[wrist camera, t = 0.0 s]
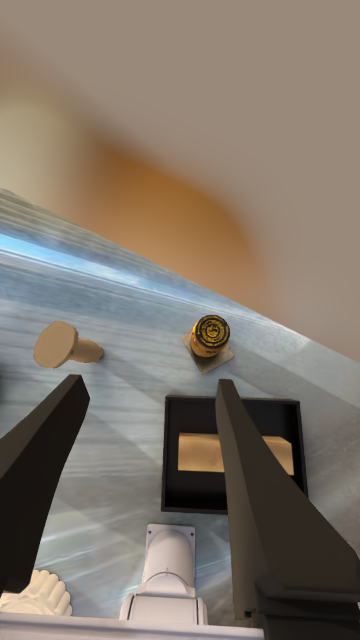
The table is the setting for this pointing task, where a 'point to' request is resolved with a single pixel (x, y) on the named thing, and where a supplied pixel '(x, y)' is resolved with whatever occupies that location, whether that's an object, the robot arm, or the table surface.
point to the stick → (207, 456)
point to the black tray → (200, 417)
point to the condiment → (209, 342)
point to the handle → (64, 346)
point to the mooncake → (39, 597)
